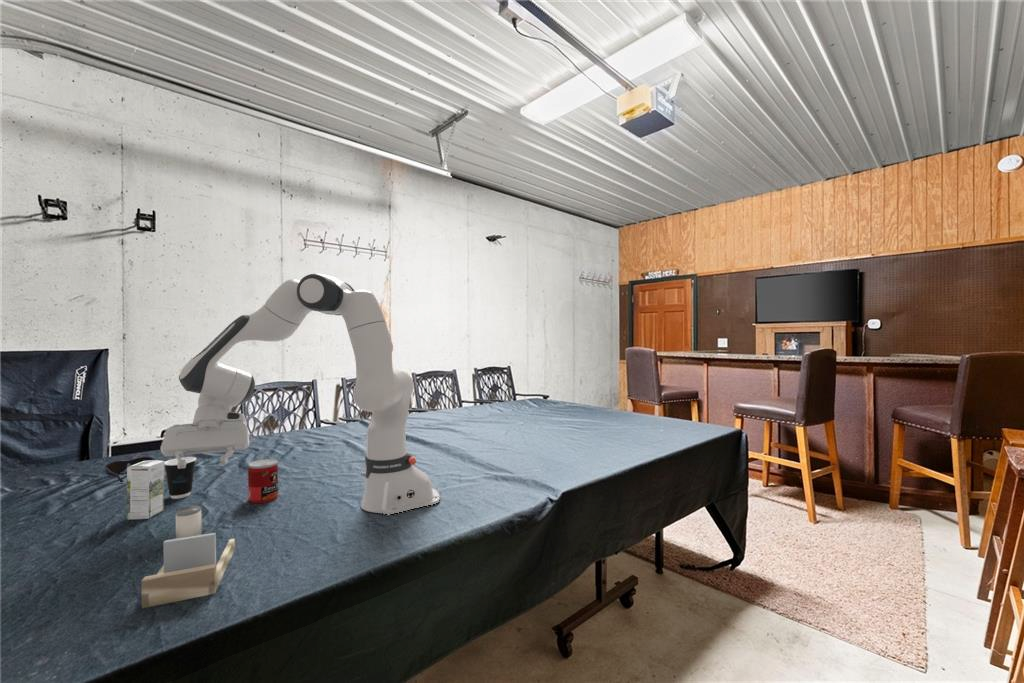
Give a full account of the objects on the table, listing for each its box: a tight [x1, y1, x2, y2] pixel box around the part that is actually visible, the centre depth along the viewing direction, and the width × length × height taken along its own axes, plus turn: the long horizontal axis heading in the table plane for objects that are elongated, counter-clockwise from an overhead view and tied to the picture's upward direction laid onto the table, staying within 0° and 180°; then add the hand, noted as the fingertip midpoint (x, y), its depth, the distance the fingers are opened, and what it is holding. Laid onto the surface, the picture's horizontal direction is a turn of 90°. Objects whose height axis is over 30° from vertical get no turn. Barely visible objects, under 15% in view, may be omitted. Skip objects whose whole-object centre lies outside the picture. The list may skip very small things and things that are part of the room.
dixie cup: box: [164, 456, 197, 500], centre depth 131 cm, size 8×8×11 cm
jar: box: [175, 505, 203, 539], centre depth 103 cm, size 5×5×7 cm
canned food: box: [247, 458, 279, 504], centre depth 129 cm, size 8×8×11 cm
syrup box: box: [126, 459, 165, 521], centre depth 117 cm, size 6×6×14 cm
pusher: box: [162, 532, 217, 573], centre depth 85 cm, size 1×8×8 cm, turn 113°
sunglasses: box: [104, 456, 157, 483], centre depth 151 cm, size 14×16×5 cm
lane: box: [141, 538, 236, 609], centre depth 87 cm, size 18×11×5 cm, turn 23°
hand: (202, 465), depth 115 cm, fingers open, 8 cm apart
